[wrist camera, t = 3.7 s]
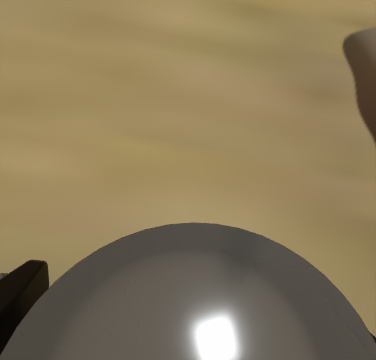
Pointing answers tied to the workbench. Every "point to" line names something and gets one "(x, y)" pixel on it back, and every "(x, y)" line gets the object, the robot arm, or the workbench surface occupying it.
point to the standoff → (192, 303)
